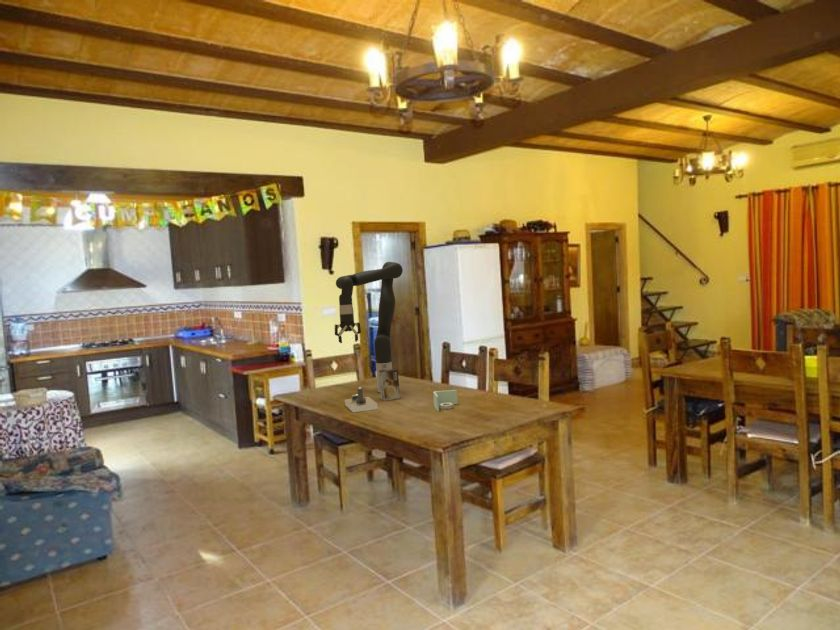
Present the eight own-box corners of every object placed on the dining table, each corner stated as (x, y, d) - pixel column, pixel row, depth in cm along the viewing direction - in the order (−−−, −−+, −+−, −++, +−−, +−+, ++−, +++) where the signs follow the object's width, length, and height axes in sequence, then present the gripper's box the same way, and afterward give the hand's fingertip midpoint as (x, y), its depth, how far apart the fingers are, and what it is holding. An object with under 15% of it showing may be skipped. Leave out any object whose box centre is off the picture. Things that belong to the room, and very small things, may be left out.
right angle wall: (437, 411, 296) (436, 396, 295) (434, 405, 308) (433, 391, 307) (461, 409, 297) (460, 394, 296) (457, 404, 309) (456, 389, 308)
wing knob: (356, 400, 316) (355, 385, 316) (365, 399, 317) (364, 384, 316) (356, 403, 308) (355, 388, 308) (365, 403, 309) (364, 387, 308)
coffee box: (396, 396, 334) (394, 368, 333) (400, 398, 328) (398, 369, 327) (380, 398, 331) (378, 370, 329) (384, 401, 325) (382, 371, 323)
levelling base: (368, 402, 324) (368, 392, 324) (377, 409, 307) (376, 398, 307) (345, 405, 320) (344, 395, 320) (352, 412, 303) (352, 401, 303)
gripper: (357, 311, 334) (359, 340, 336) (332, 313, 330) (334, 342, 331) (360, 312, 327) (362, 341, 329) (335, 314, 322) (337, 344, 324)
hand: (348, 342), depth 330 cm, fingers open, 8 cm apart
